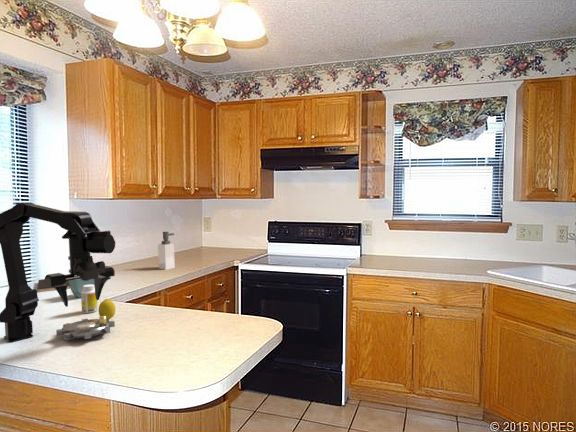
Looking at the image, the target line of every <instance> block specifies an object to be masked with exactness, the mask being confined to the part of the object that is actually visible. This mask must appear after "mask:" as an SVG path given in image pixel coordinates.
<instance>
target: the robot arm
mask: <svg viewBox="0 0 576 432" xmlns="http://www.w3.org/2000/svg"><path fill="white" fill-rule="evenodd" d="M31 218H32V219H34V220H35V219H36V220H40V221H44V222H49V223H52V224H56V225H58V226H59V227H60V228H61V229H63V230H65V231H66V232H65V233H64V234H63V235H62V236H61V239H65V240H66V239H67V240H68V251H69V252H68V253H69V256H68V257H67V258H68V260H69V268H70V269H68V274H64V273H60V272H57V273H56V272H55V273H48V274H46V276H45V277H44V279H45V284H46V285H49V286H51V287H53V288H55V289H56V290H55V291H56V292H57V293H58V295H59V297H60V299H61V301H62V303H63V304H64V307H67V308H68V307H69V300H68V292H67V290H68V289H67V285H65V282H66V281H69V280H75V279H82V280H84V281H88V280H90V279H94V283H95V296H96V300H97V301H99V300H100V297H101V294H102V291H103V288H104V286H105V284H106V283H107V282H108V281H109V280H111V277H115V276H116V275H115V274H116V273H115V271H116V270H115V269H114V267H113V266H109V265H106V262H104V260H102V261H101V260H100V261H97V262H94V258H93V256H92V255H91V254H111V253H113V252H114V251H115V248H116V240H115V238H114V236H113V235H112V233H111V230H104V231H103V230H102V231H101V230H100V228H99V227H98V225H97V224H96V223H95V221H94V220H93V219H92V216H91V214H90V213H89V212H88V211H73V210H72V211H71V210H70V211H68V210H67V211H65V210H60V209H57V208H52V207H48V206H43V205H39V204H35V203H33V202H18V203H17V204H15V205H14V206H12V207H11V208H8V209H7V210H5V211H2V212H1V213H0V248H1V249H0V250H1V253H2V258H3V263H4V268H5V273H6V278H7V284H8V285H7V286H8V291H7V294H6V295H5V296H6V297H5V300H4V301H5V307H4V309H3V310H2V311H1V312H0V323H4V330H5V331H4V332H5V334H4V336H3V338H4V339H5V340H6V341H7V342H9V343H12V342H17V341H20V340H25V339H30V338H32V337H34V335H33V332H34V331H33V330H34V329H33V321H32V320H31V316H34V315H35V311H36V308H37V307H38V304H39V301H40V299H39V297H38V289H37V288H33V289H32V287H30V285H29V283H28V280H27V275H26V270H25V264H24V259H23V253H22V249H21V244H20V240H21V238H22V235H23V232H24V225H25V224H26V223H28V222H29V220H30V219H31Z"/></svg>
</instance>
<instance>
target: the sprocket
mask: <svg viewBox="0 0 576 432" xmlns="http://www.w3.org/2000/svg"><path fill="white" fill-rule="evenodd" d="M115 325H116V322H115V320H111V321H108V320H107V318H106V316H100V315H99V318H93V319H91V318H90V319H88V318H83V319H82V318H81V320H78V321H74V322H72V323H71V322H70V323H69V322H66V323H63V324H62V328H59V329H56V332H55V333H56V337H59V336H61V337H62V340H64V341H66V340H67V341H69V340H71V339H84V340H87V339H92V337H91V336H93V337H94V336H95V337H96V336H99V335H101V334H109V333H110V332H111V328H115Z"/></svg>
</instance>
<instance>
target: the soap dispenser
mask: <svg viewBox="0 0 576 432" xmlns="http://www.w3.org/2000/svg"><path fill="white" fill-rule="evenodd" d="M174 235H175V233H173V232H172V233H169V231H162V240H161V243H160V244H157V252H158V258H157V259H158V269H161V270H171V269H175V267H176V266H175V243H171V240H170V239H169V238H170V237H169V236H174Z"/></svg>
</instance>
